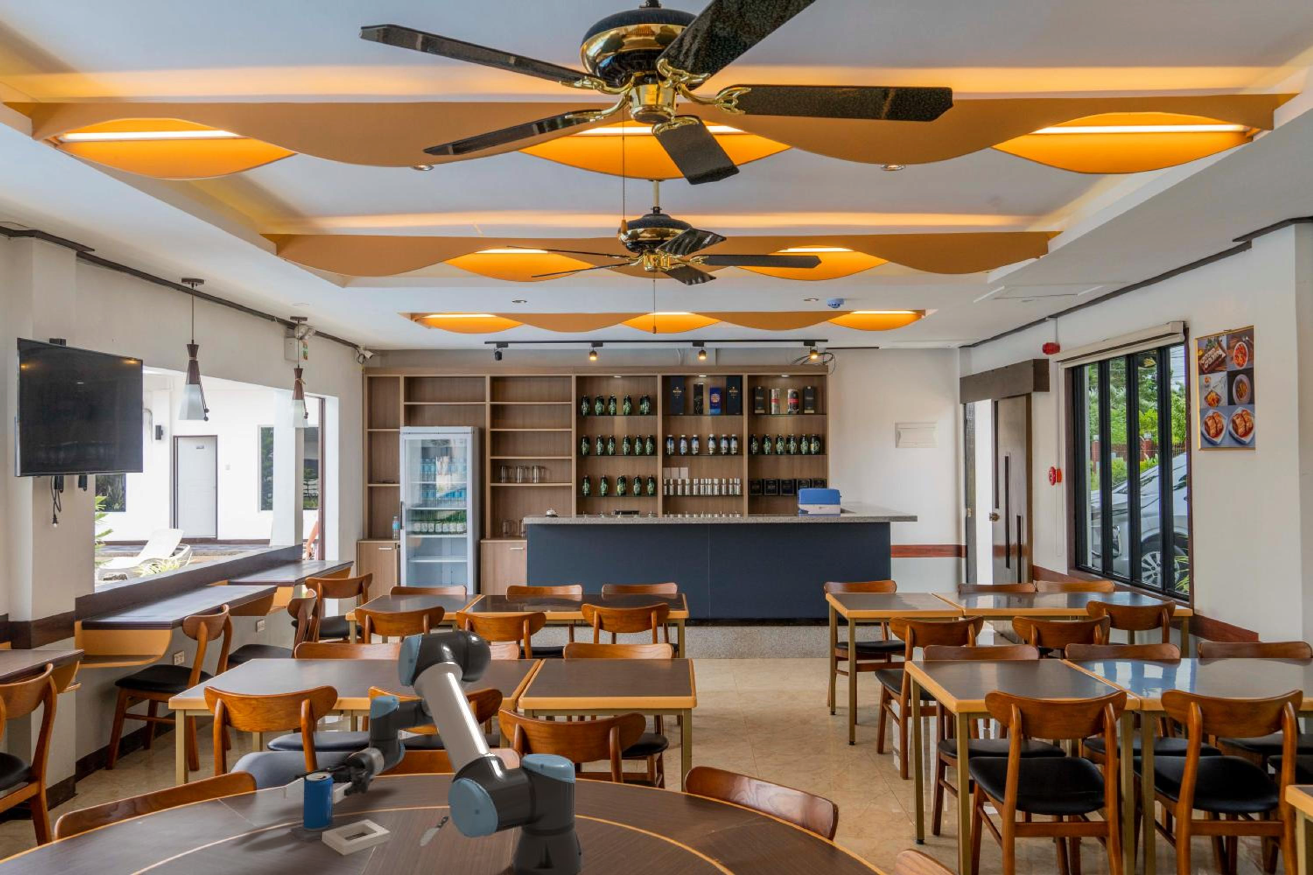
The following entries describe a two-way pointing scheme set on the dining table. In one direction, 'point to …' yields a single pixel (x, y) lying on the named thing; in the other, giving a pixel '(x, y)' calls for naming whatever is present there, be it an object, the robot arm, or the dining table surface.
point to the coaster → (312, 832)
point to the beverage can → (318, 801)
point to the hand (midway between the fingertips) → (309, 794)
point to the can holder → (346, 847)
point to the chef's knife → (432, 832)
